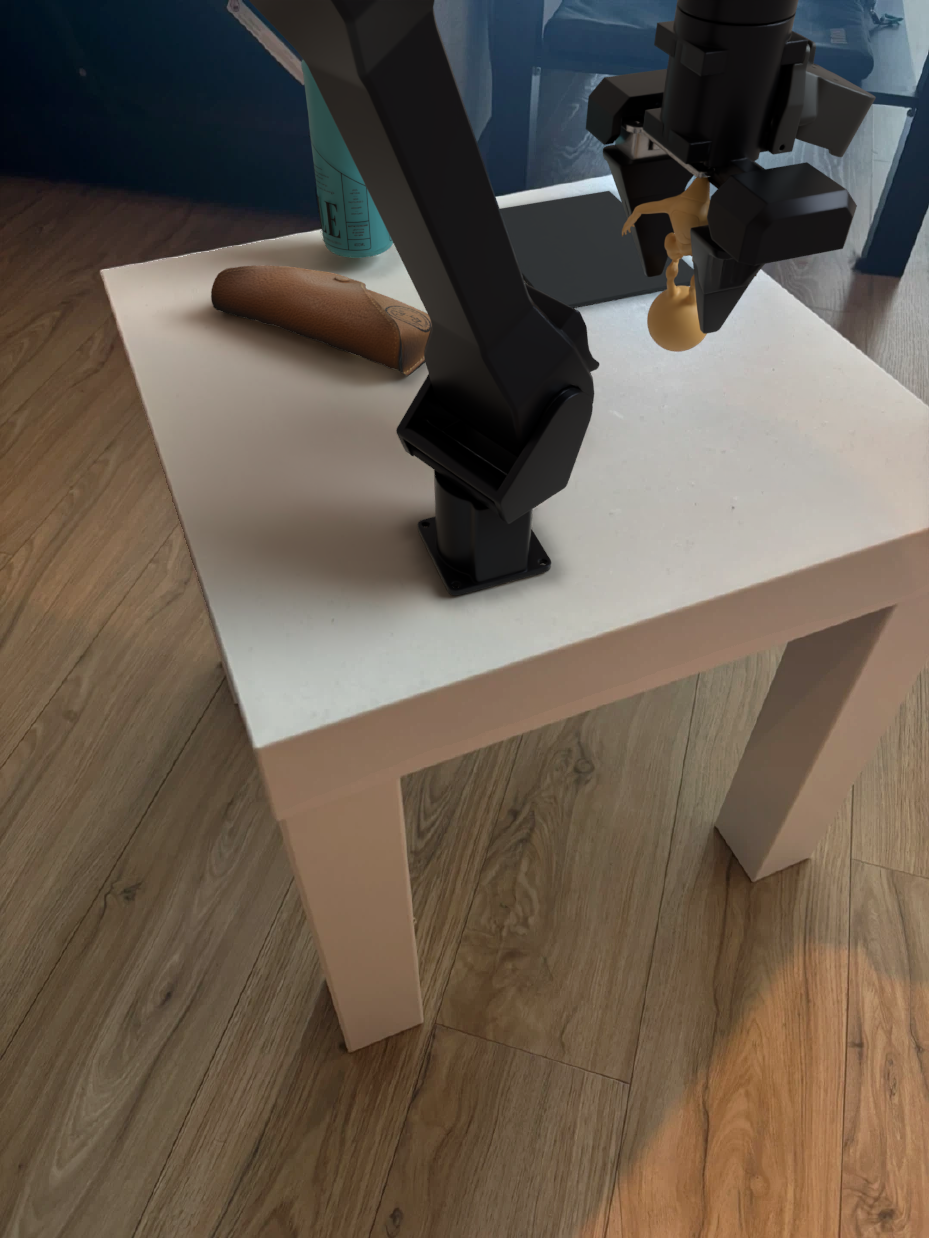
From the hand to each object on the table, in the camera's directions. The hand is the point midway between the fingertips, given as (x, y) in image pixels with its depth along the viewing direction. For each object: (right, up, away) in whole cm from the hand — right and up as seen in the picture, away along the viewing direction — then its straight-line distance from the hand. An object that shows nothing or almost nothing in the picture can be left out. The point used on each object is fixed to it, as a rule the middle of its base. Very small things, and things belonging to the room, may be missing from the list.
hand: (680, 302), depth 57 cm
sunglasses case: (-24, +4, +17) cm, 29 cm away
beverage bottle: (-22, +12, +25) cm, 35 cm away
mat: (-3, +14, +26) cm, 29 cm away
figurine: (0, -2, +3) cm, 4 cm away
